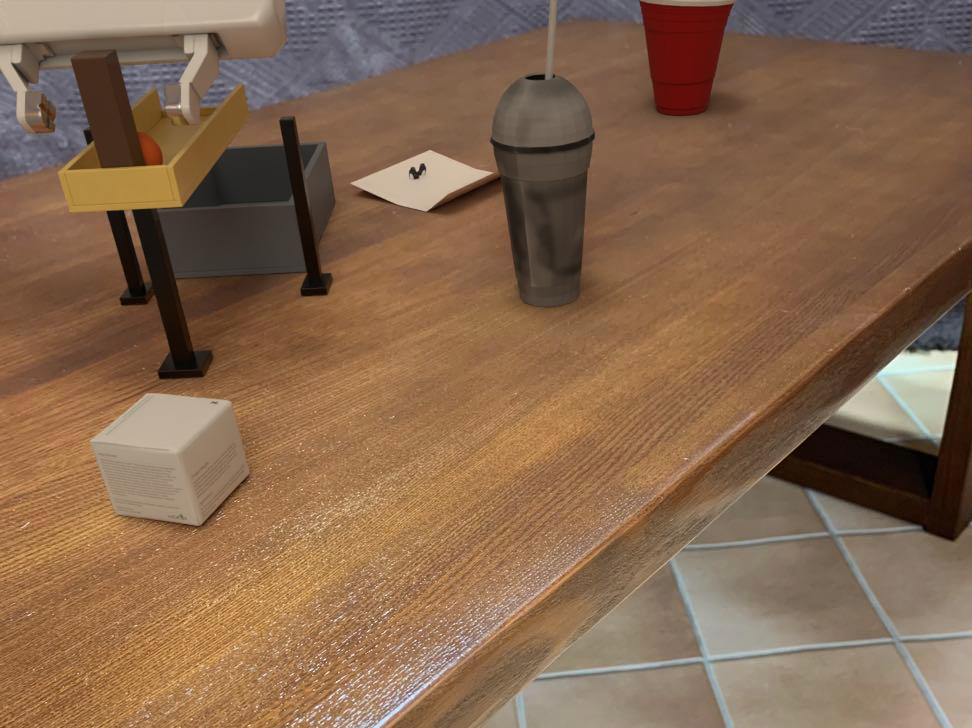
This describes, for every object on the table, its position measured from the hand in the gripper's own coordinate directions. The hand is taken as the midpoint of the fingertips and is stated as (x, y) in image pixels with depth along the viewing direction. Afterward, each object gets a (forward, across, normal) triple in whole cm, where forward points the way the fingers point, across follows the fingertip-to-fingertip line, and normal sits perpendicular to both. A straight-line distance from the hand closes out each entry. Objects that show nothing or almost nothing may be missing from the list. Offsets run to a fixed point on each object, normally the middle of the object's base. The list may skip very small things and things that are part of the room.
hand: (108, 124), depth 62 cm
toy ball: (0, 0, +4) cm, 4 cm away
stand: (+6, 0, +18) cm, 19 cm away
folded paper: (-15, +15, +39) cm, 45 cm away
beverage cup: (+4, +25, +20) cm, 32 cm away
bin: (-7, 0, +31) cm, 32 cm away
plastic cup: (-32, +41, +56) cm, 76 cm away
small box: (+22, +4, +2) cm, 22 cm away
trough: (-3, 0, +10) cm, 10 cm away
